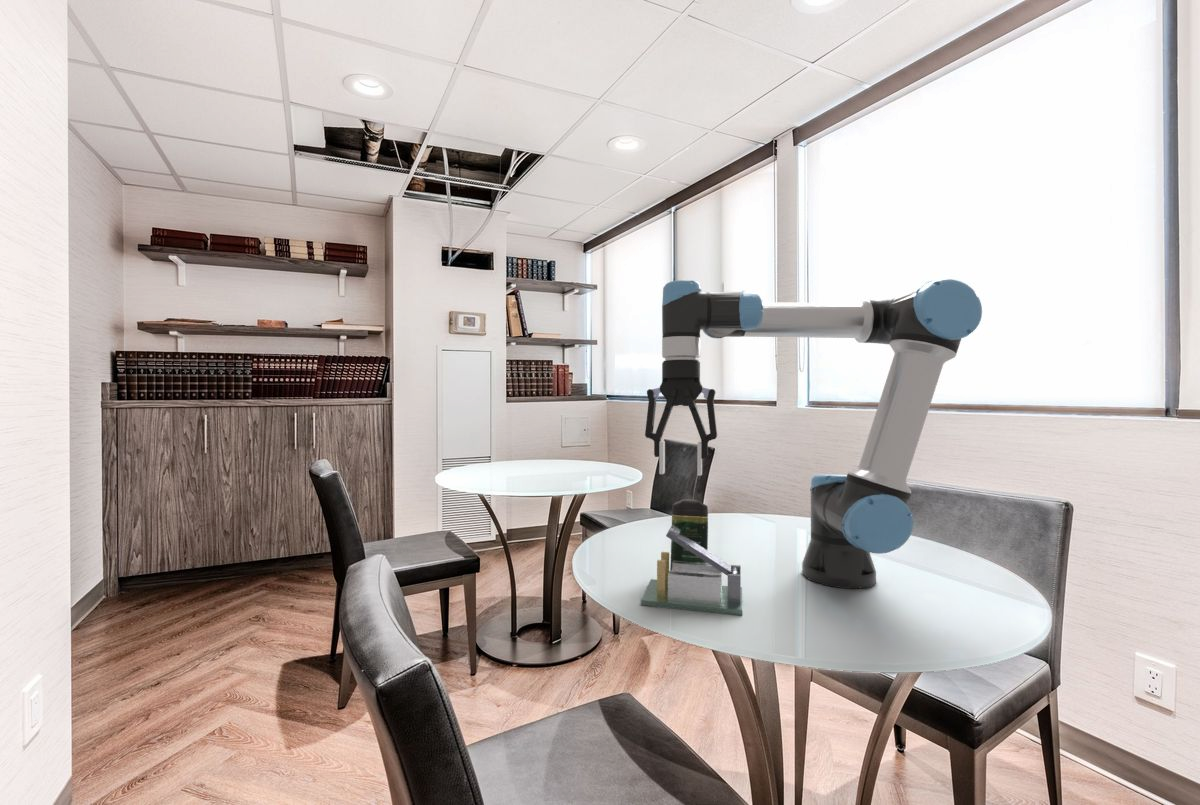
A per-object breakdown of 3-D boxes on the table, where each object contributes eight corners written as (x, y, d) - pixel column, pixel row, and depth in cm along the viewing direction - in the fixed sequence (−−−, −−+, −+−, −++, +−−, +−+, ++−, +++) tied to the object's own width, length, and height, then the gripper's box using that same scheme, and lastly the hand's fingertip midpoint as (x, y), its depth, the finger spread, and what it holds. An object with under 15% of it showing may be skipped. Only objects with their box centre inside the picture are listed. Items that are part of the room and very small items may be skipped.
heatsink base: (741, 592, 110) (741, 553, 110) (742, 615, 99) (742, 572, 99) (650, 583, 115) (650, 547, 115) (641, 605, 103) (641, 564, 103)
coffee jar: (709, 591, 110) (710, 500, 113) (671, 588, 111) (673, 498, 114) (704, 582, 120) (705, 499, 123) (668, 580, 120) (670, 497, 123)
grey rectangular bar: (728, 569, 107) (732, 563, 107) (728, 576, 103) (732, 569, 103) (668, 531, 110) (672, 524, 110) (665, 536, 106) (669, 529, 106)
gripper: (732, 359, 108) (731, 473, 108) (636, 361, 113) (635, 469, 113) (731, 357, 101) (731, 478, 101) (628, 359, 106) (628, 474, 106)
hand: (680, 473), depth 107 cm, fingers open, 7 cm apart
